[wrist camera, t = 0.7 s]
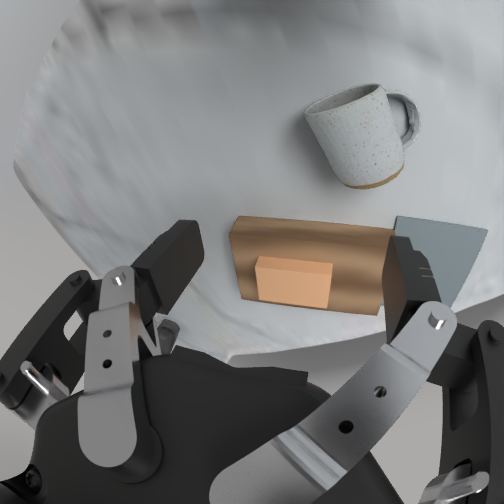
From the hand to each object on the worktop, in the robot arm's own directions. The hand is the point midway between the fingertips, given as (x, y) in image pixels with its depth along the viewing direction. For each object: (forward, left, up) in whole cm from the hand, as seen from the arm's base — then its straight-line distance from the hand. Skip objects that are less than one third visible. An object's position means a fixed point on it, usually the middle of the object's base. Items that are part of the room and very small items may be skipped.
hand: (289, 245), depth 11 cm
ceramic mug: (-1, +5, -20) cm, 21 cm away
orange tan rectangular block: (+18, -2, -16) cm, 24 cm away
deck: (+18, 0, -20) cm, 27 cm away
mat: (+18, +17, -20) cm, 32 cm away
